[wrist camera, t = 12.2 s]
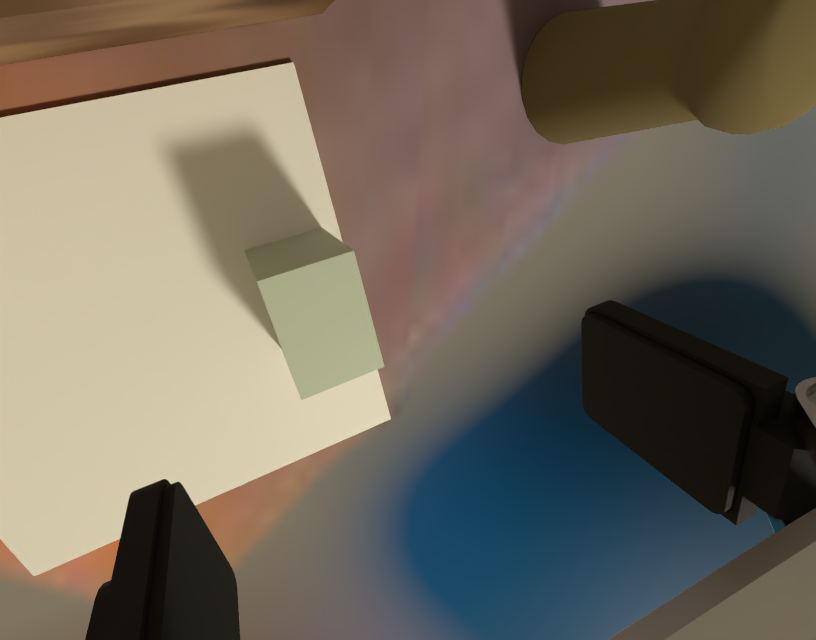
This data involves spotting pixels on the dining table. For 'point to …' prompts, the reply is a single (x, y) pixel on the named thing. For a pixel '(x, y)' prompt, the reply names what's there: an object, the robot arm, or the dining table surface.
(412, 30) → the dining table surface
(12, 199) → the lid
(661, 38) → the cork
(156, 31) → the open wooden box
